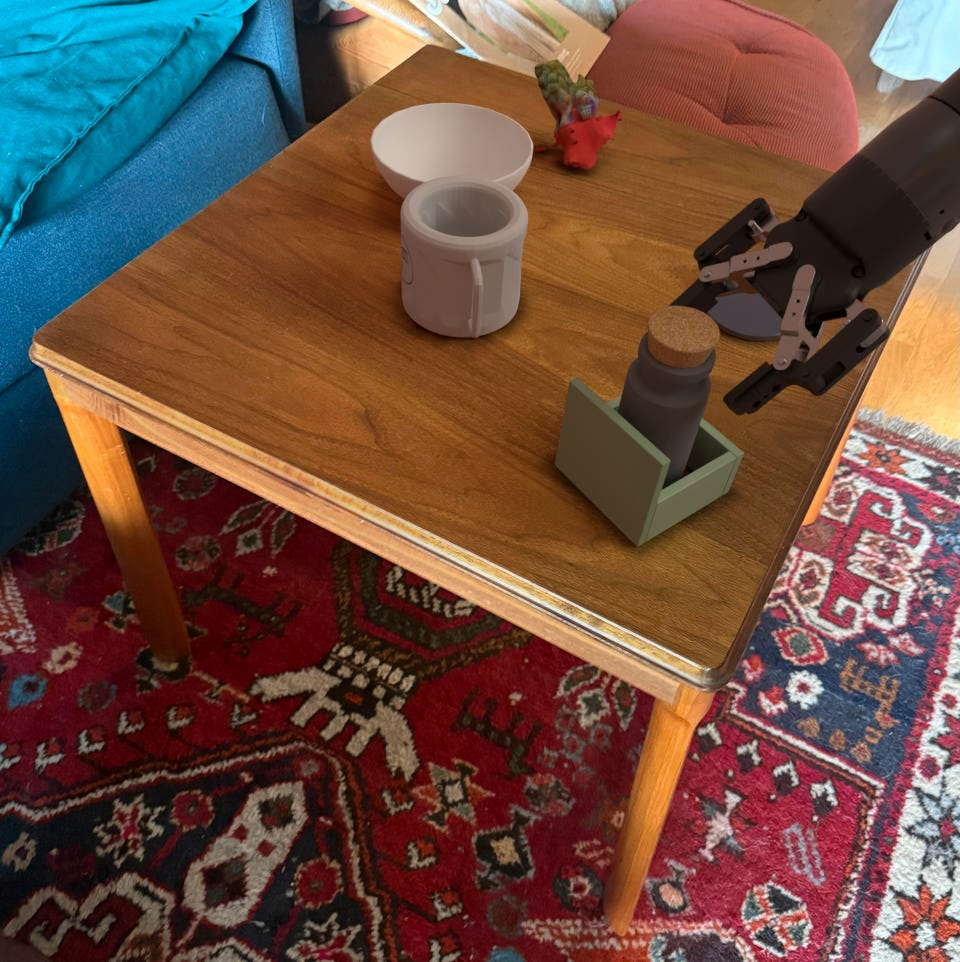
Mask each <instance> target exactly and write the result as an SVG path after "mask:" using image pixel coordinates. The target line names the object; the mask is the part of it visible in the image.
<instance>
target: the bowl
mask: <svg viewBox="0 0 960 962" xmlns="http://www.w3.org/2000/svg"><path fill="white" fill-rule="evenodd" d="M369 142H370V148H371V149H370V150H371V154H372V158H373V162H374V164H375V166H376V169H377V172H379V173H380V175H381V177H382V178H383V179H384V181H385V182H386V183H387V184H388V185H389V187H390V188H391V189H392V190H393V191H394V193H396V194H397V195H398V196H399V197H401V198H402V199H403V200H405V198H406V197H407V196H408V194H409V193H410V192H411V191H412V190H413V189H415V188H416V187H417V186H419V185H421V184H423V183H425V182H427V181H430V180H433V179H437V178H442V177H448V176H472V177H479V178H484V179H488V180H491V181H494V182H497V183H500V184H502V185H504V186H506V187H507V188H509V189H511V190H512V191H513V192H514V190H515V189H516V188H517V187H518V186H519V185H520V183H521V182H522V180H523V178H524V177H525V175H526V174H527V172H528V170H529V168H530V166H531V163H532V160H533V159H532V158H533V153H534V142H533V141H532V138H531V136H530V134H529V132H528V131H527V130H526V129H525V128H524V127H523V126H522V125H521V124H520V123H519V122H517V121H516V120H514V119H513V118H511V117H510V116H507V115H506V114H503V113H501V112H498V111H497V110H496V111H495V110H493V109H491V108H488V107H487V108H486V107H482V106H478V105H474V104H469V103H467V104H466V103H458V102H432V103H426V104H419V105H413V106H410V107H406V108H403V109H400V110H398V111H395V112H393V113H391V114H390V115H388V116H386V117H385V118H383V119H381V121H380V122H379V123H378V124H377V125H376V126H375V127H374V128H373V131H372V133H371V136H370V139H369Z"/></svg>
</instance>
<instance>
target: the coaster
mask: <svg viewBox="0 0 960 962" xmlns="http://www.w3.org/2000/svg"><path fill="white" fill-rule="evenodd" d="M716 300H717V301H718V303H717V304H716V305H715V306H714V307H713V308H711V309H710V310H709V311H708V312H707V313H706V314H707V315H708V316H709V317H711V318H712V319H713V320H714V321H715V323H716V324H717V326H718V328H719V331H721V332H723V333H726V334H727V335H730V336H732V337H735V338H738V339H742V340H746V341H751V342H771V341H776V340H780V338H781V333H780V327H781V323H782V321H783V320H782V318H781V317H780V316H779V315H778V314H777V313H776V312H775V311H774V309H773V308H772V307H771V306H770V305H769V304H768V303H767V302H766V301H765V300H764V298H763V297H762V296H761V295H760V294H759V293H756V294H746V293H738V294H733V295H728V296H723V297H716Z"/></svg>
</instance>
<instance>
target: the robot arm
mask: <svg viewBox="0 0 960 962" xmlns="http://www.w3.org/2000/svg"><path fill="white" fill-rule="evenodd" d="M959 224H960V67H958V68H957V69H956V70H955V71H953V73H951V75H950V76H949V77H947V78H946V79H945V80H944V81H942V83H941V84H939V85H938V86H937V87H936V88H935V89H934V90H933V91H931V92H930V93H929V94H928V95H927V96H926V97H924V98H923V99H922V100H921V101H919V102H918V103H917V104H916V105H914V106H913V107H911V108H910V109H909V110H907V111H906V112H904V113H903V114H902V115H900V116H899V117H897V118H896V119H895V120H893V121H892V122H890V123H889V124H888V125H887V126H886V127H884V129H882V130H881V131H880V132H879V133H878V134H876V135H875V137H873V138H872V139H871V140H870V141H869V142H867V143H866V144H865V145H864V146H863V147H862V148H861V149H860V150H859V151H857V153H855V154H854V155H852V157H851V158H850V159H849V160H848V161H846V162H845V163H844V164H843V165H842V166H841V167H840V168H839V169H837V170H836V171H835V172H834V173H833V174H832V175H830V177H828V178H827V179H826V180H825V181H824V182H823V183H822V184H820V185H819V186H818V187H817V188H816V189H815V190H814V191H813V192H812V193H811V194H809V195H808V196H807V197H806V198H805V199H804V201H803V203H802V206H801V208H800V210H799V211H798V213H797V214H796V215H794V217H792V218H790V219H788V220H786V221H783V222H781V221H780V217H779V216H778V215H777V214H776V213H775V211H774V210H773V208H772V207H771V205H770V204H769V203H768V202H767V200H766V199H765V198H764V197H757V198H754V200H752V201H751V202H750V203H748V204H747V205H746V206H744V208H743V209H741V210H740V211H739V212H738V213H737V214H736V215H734V216H733V217H731V219H729V220H728V221H727V222H726V223H725V224H723V225H722V226H721V227H720V228H718V230H716V231H715V232H714V233H712V234H711V235H710V236H709V237H708V238H706V240H705V241H703V242H702V243H701V244H700V245H698V246H697V247H696V248H695V249H694V251H693V256H692V257H693V259H694V260H695V261H696V263H697V267H698V271H699V273H698V277H697V279H696V280H695V281H694V282H693V283H692V284H690V286H688V287H687V288H686V289H685V290H684V291H683V292H682V293H681V294H680V295H678V297H676V298H675V299H674V300H673V301H671V302H670V304H669V305H668V306H685V307H690V308H694V309H697V310H699V311H701V312H703V313H705V314H706V313H707V312H708V311H709V310H710V309H711V308H713V307H714V306H715V305H716V304H717V303H718V301H717V300H716V297H723V296H728V295H733V294H738V293H746V294H756V293H759V294H760V295H761V296H762V297H763V298H764V300H765V301H766V302H767V303H768V304H769V305H770V306H771V307H772V308H773V309H774V311H775V312H776V313H777V314H778V315H779V316H780V317H781V318H782V320H783V321H782V323H781V327H780V333H781V338H780V339H779V341H778V344H777V347H776V350H775V353H774V356H773V359H772V363H771V364H770V363H769V362H767V361H764V362H763V363H762V364H761V365H760V366H758V367H757V368H756V369H755V370H754V371H752V372H751V373H750V374H748V375H747V376H746V377H745V378H744V379H743V380H742V381H740V382H739V383H738V384H736V385H735V386H734V387H733V388H731V389H730V390H729V391H728V392H727V393H725V394H724V396H723V398H722V401H723V403H724V404H725V405H726V407H727V408H728V409H729V410H730V411H731V412H732V413H734V414H735V415H736V416H738V417H739V416H743V415H745V414H747V415H751V414H754V413H757V412H758V411H759V410H760V409H762V408H763V407H764V406H766V405H767V404H768V403H769V402H770V401H771V400H773V399H774V398H775V397H777V395H779V394H780V393H781V392H783V391H784V390H785V389H786V388H788V387H790V386H798V387H799V388H802V389H804V390H805V391H808V392H810V393H811V395H813V396H815V397H821V396H824V395H825V394H826V393H827V392H828V391H830V390H831V389H832V388H833V387H834V386H835V385H836V384H838V383H839V382H840V381H841V380H842V379H843V378H844V377H846V375H848V374H849V373H850V372H851V371H852V370H854V369H855V368H856V367H857V366H858V365H859V364H860V363H861V362H863V361H864V360H865V359H866V358H867V357H869V356H870V355H871V353H873V352H874V351H875V350H876V349H877V348H878V347H880V345H882V344H883V343H884V342H885V341H886V340H887V339H889V337H890V334H891V330H890V327H889V326H888V325H887V322H886V321H885V319H884V318H883V317H882V315H881V314H880V312H878V310H877V309H876V308H871V307H868V306H866V305H865V304H864V303H863V302H864V300H865V298H866V297H867V296H868V294H870V293H871V292H872V291H873V290H875V289H877V288H880V287H881V288H882V287H883V286H885V285H887V283H889V282H890V281H891V280H892V279H894V278H895V277H896V276H897V275H899V274H900V273H901V272H902V271H903V270H904V269H906V268H907V267H908V266H910V265H911V264H912V263H913V262H914V261H915V260H916V259H918V258H919V257H920V256H921V255H922V254H924V253H925V252H926V251H927V250H929V249H931V247H933V246H934V245H935V244H936V243H937V242H938V241H940V240H941V239H942V238H943V237H945V236H946V235H947V234H949V233H950V232H952V231H953V230H954V229H955V228H956V227H957V226H958V225H959ZM758 243H763V244H764V245H763V248H762V249H759V250H754V251H750V249H752V248H753V247H754V246H755V245H757V244H758ZM748 251H749V252H748ZM840 319H843V320H842V323H841V325H840V330H839V331H838V332H837V333H836V334H835V335H833V337H832V338H830V339H829V340H828V341H827V342H826V343H825V344H824V345H823V346H822V347H820V348H819V345H820V343H821V340H822V337H823V334H824V331H825V327H826V325H827V322H829V321H834V320H840ZM818 348H819V349H818Z"/></svg>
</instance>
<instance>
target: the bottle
mask: <svg viewBox="0 0 960 962" xmlns="http://www.w3.org/2000/svg"><path fill="white" fill-rule="evenodd" d="M720 335H721V330H720V329H719V328H718V326H717V324H716V323H715V321H714V320H713V319H712V318H711V317H709V316H708V315H707V314H705V313H703V312H701V311H699V310H697V309H694V308H690V307H685V306H669V305H668V306H664V307H661V308H658V309H657V310H654V312H652V313H651V314H650V316H649V318H648V320H647V331H646V332H645V333H644V334H643V336H641V339H640V341H639V344H638V350H637V357H636V358H635V359H634V360H632V362H631V363H630V365H629V367H628V370H627V373H626V377H625V380H624V384H623V388H622V393H621V395H622V396H621V395H620V396H621V400H620V404H619V409H618V414H620V415H621V416H622V417H623V418H624V419H625V420H626V421H627V422H628V423H630V424H631V425H632V426H633V427H634V428H635V429H636V430H637V431H638V432H640V433H641V434H642V435H643V436H644V437H645V438H646V439H647V440H649V441H650V442H651V443H652V444H653V445H654V446H655V447H656V448H657V449H659V450H660V451H661V452H662V453H663V454H664V455H665V456H666V457H667V458H669V459H670V465H669V468H668V471H667V474H666V477H665V480H664V483H663V487H662V490H663V489H664V488H666V487H668V486H670V485H671V484H673V483H675V482H677V481H678V480H680V479H682V478H683V475H684V472H685V469H686V467H687V465H686V464H687V461H688V458H689V455H690V452H691V449H692V446H693V443H694V440H695V437H696V434H697V431H698V428H699V426H700V423H701V420H702V418H704V417H703V416H704V413H705V410H706V407H707V405H708V402H709V399H710V394H711V391H712V381H711V376H710V375H711V373H712V371H713V369H714V366H715V364H716V357H717V353H716V349H715V347H716V345H718V342H719V340H720V337H721V336H720Z"/></svg>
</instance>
